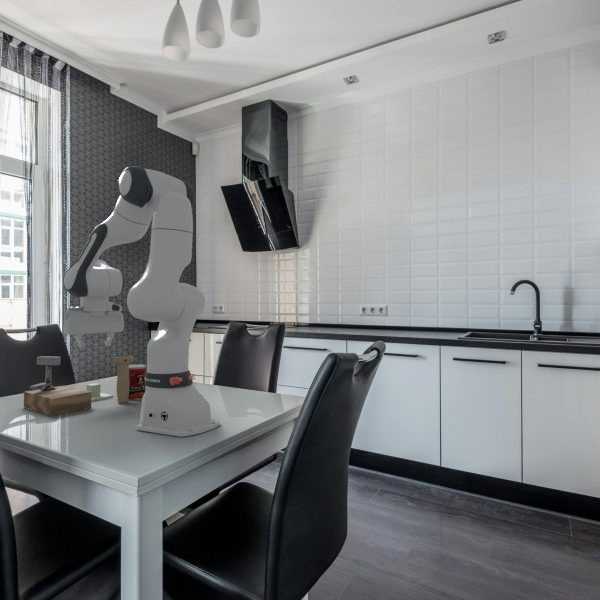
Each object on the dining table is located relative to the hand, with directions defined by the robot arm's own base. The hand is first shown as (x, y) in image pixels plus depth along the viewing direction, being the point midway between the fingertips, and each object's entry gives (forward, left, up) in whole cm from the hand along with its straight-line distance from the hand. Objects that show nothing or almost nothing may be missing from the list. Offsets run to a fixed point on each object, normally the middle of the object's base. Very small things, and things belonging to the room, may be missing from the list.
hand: (95, 346), depth 145 cm
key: (+1, +16, -13) cm, 21 cm away
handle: (-13, -2, -18) cm, 23 cm away
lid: (+1, 0, -18) cm, 18 cm away
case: (-3, +14, -18) cm, 23 cm away
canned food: (-9, -9, -18) cm, 22 cm away
